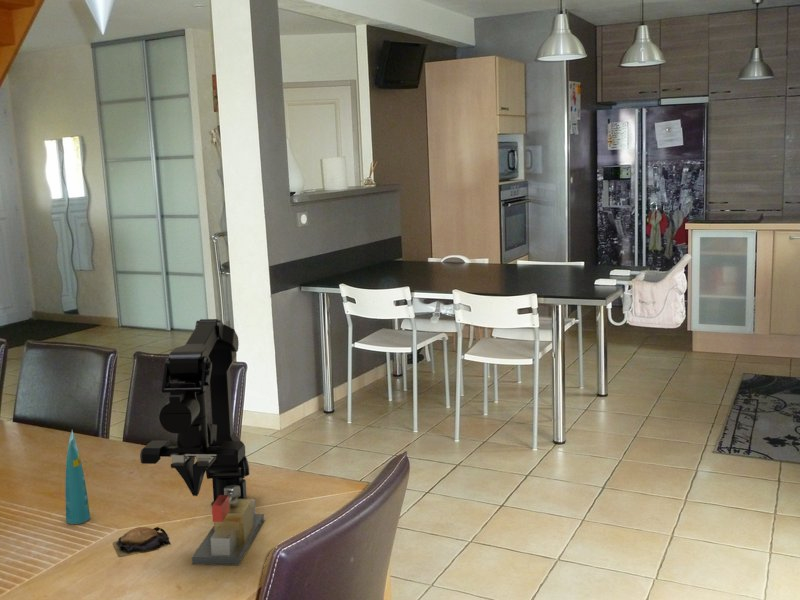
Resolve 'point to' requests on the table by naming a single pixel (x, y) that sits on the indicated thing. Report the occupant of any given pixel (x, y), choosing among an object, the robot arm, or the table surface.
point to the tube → (75, 486)
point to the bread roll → (141, 541)
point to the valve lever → (224, 502)
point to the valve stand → (230, 535)
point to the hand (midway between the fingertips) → (195, 495)
